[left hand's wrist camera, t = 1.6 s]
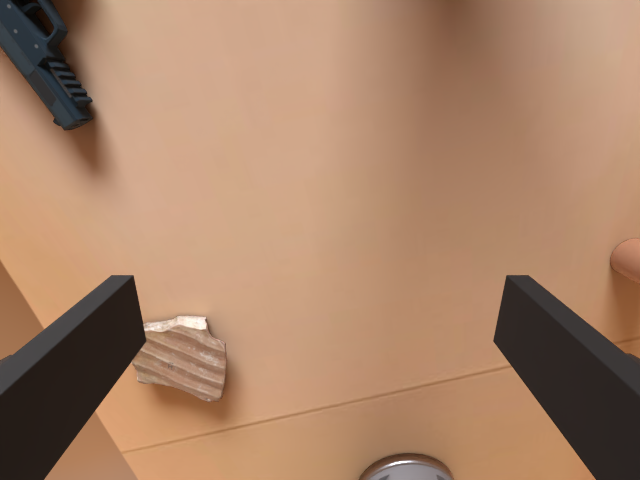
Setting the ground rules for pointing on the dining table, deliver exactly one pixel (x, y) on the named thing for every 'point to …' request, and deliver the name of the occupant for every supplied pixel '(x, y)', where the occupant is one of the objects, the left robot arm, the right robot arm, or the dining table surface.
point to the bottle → (627, 259)
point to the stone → (183, 357)
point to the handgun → (43, 59)
